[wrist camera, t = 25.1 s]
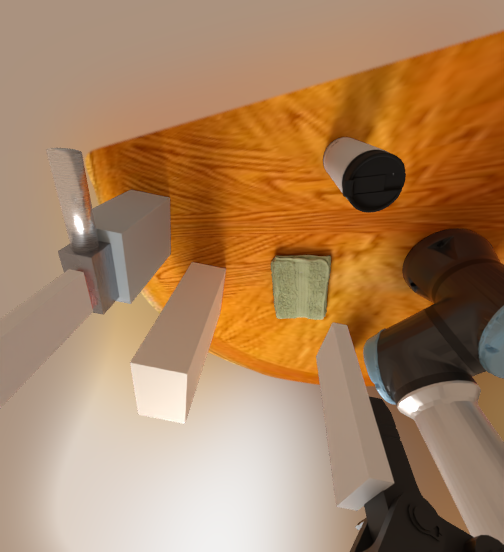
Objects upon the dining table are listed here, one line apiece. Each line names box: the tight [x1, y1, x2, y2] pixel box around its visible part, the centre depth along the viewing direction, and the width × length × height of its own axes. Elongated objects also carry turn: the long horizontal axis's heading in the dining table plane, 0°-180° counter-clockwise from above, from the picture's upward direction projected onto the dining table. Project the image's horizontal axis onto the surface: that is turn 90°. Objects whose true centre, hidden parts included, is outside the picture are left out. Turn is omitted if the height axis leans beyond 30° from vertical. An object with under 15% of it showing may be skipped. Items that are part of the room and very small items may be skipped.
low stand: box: [92, 190, 171, 304], centre depth 46 cm, size 8×13×18 cm, turn 170°
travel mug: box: [323, 137, 406, 212], centre depth 35 cm, size 6×7×20 cm
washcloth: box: [271, 255, 331, 320], centre depth 57 cm, size 13×18×3 cm
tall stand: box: [130, 262, 226, 424], centre depth 50 cm, size 8×14×28 cm, turn 170°
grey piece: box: [46, 148, 119, 314], centre depth 33 cm, size 4×22×6 cm, turn 170°
